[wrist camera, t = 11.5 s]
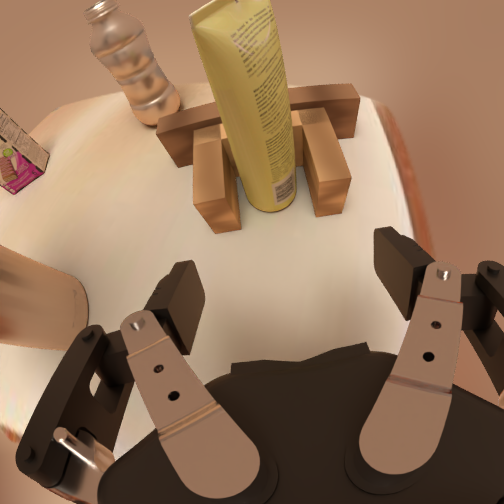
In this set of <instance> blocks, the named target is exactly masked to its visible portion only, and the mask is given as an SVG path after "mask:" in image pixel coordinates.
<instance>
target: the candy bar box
mask: <svg viewBox="0 0 504 504" xmlns="http://www.w3.org/2000/svg"><path fill="white" fill-rule="evenodd" d="M49 155H50V154H49V153H48V152H46V151H45V150H44V149H43V148H42V147H41V146H40V145H39V144H38V143H36V142H35V141H34V140H33V139H32V138H31V137H30V136H29V135H28V134H27V133H26V132H24V131H23V130H22V129H21V128H20V127H19V126H18V125H17V124H16V123H15V122H14V121H13V120H12V119H11V118H10V117H9V116H8V115H7V114H6V113H5V112H4V111H3V110H2V109H1V108H0V186H1V187H3V188H4V189H6V190H7V191H9V192H10V193H11V194H13V195H14V194H15V193H17V192H18V191H19V190H21V189H22V188H23V187H25V186H26V185H28V184H29V183H30V182H32V181H33V180H35V179H36V178H37V177H39V176H40V175H42V174H43V173H44V172H45V170H46V166H47V162H48V159H49Z"/></svg>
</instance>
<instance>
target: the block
mask: <svg viewBox="0 0 504 504" xmlns="http://www.w3.org/2000/svg"><path fill="white" fill-rule="evenodd" d="M291 118H292V127H293V138H294V149H295V165H296V166H302V165H303V167H304V171H305V174H306V178H307V182H308V186H309V190H310V194H311V198H312V203H313V207H314V211H315V216H316V217H320V216H326V215H333V214H340V213H342V210H343V207H344V203H345V200H346V196H347V193H348V189H349V186H350V182H351V178H352V177H351V174H350V172H349V169H348V166H347V163H346V160H345V158H344V155H343V152H342V150H341V147H340V144H339V142H338V139H337V137H336V134H335V132H334V129H333V127H332V125H331V122H330V120H329V118H328V115H327V113H326V111H325V108H324V107H323V108H313V109H304V110H296V111H291ZM237 176H240V175H239V172H238V169H237V166H236V163H235V160H234V157H233V154H232V151H231V148H230V144H229V141H228V138H227V135H226V132H225V129H224V126H223V123H222V124H218V125H214V126H209V127H205V128H201V129H197V130H194V144H193V205H194V206H195V207H196V209H197V210H198V211H199V213H200V214H201V215H202V217H203V218H204V219H205V221H206V222H207V223H208V225H209V226H210V227H211V229H212V230H213V231H214V233H215V234H217V233H223V232H228V231H234V230H240V229H241V222H240V212H239V203H238V193H237V183H236V177H237Z"/></svg>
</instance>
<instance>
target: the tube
mask: <svg viewBox="0 0 504 504" xmlns="http://www.w3.org/2000/svg"><path fill="white" fill-rule="evenodd" d="M189 20H190V24H191V29H192V32H193V35H194V38H195V42H196V45H197V48H198V50H199V54H200V57H201V60H202V62H203V66H204V68H205V71H206V74H207V77H208V80H209V83H210V86H211V89H212V92H213V95H214V98H215V101H216V104H217V108H218V111H219V114H220V117H221V120H222V123H223V126H224V129H225V132H226V135H227V138H228V141H229V144H230V148H231V151H232V154H233V157H234V160H235V163H236V166H237V169H238V172H239V175H240V178H241V181H242V184H243V187H244V190H245V193H246V196H247V199H248V200H249V202H250V203H251V204H252V205H253V206H254V207H255V208H257V209H259V210H262V211H267V212H273V211H278V210H281V209H283V208H285V207H287V206H288V205H289V204H290V203H291V202H292V201H293V199H294V197H295V195H296V165H295V149H294V138H293V127H292V118H291V109H290V101H289V94H288V87H287V81H286V74H285V68H284V62H283V56H282V51H281V46H280V40H279V36H278V31H277V26H276V22H275V17H274V13H273V9H272V6H271V2H270V0H213V1H211V2H209V3H208V4H206V5H204V6H202V7H201V8H200V9H198V10H196V11H194V12H193V13H192V14H190V15H189Z"/></svg>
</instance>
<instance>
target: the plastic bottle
mask: <svg viewBox="0 0 504 504" xmlns="http://www.w3.org/2000/svg"><path fill="white" fill-rule="evenodd" d="M119 6H120V5H119V3H117V1H116V0H101V1H100V2H98V3H96V4H94V5H93V6H91V7H90V8H88V9H87V10H86V11H84V13H83V14H84V16H85V18H86V19H87V23H88V24H92V32H91V36H90V49H91V52H92V53H93V55H94V56H95V57H97V59H98V60H99V61H100V62H101V63H102V64H103V65H104V66H105V67H106V68H107V69H108V70H109V72H110V73H111V74H112V75H113V77H114V78H115V79H116V80H117V82H118V83H119V85H120V86H121V88H122V90H123V92H124V93H125V95H126V97H127V99H128V101H129V103H130V106H131V109H132V111H133V113H134V115H135V117H136V118H137V119H138V120H140V121H141V122H142V123H143V124H147V125H158V119H159V118H161V117H164V116H167V115H170V114H173V113H176V112H177V111H178V109H179V106H180V98H179V94H178V91H177V90H176V88H175V87H174V86H173V84H172V83H171V82H170V81H169V80H168V79H167V77H166V76H165V74H164V73H163V71H162V70H161V68H160V67H159V65H158V63H157V61H156V59H155V58H154V54H153V52H152V50H151V48H150V45H149V42H148V39H147V35H146V32H145V30H144V26H143V23H142V22H141V21H140V20H139V19H138V18H137V17H135V16H133V15H131V14H128V13H125V12H122V11H120V10H119V9H118V7H119Z"/></svg>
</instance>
